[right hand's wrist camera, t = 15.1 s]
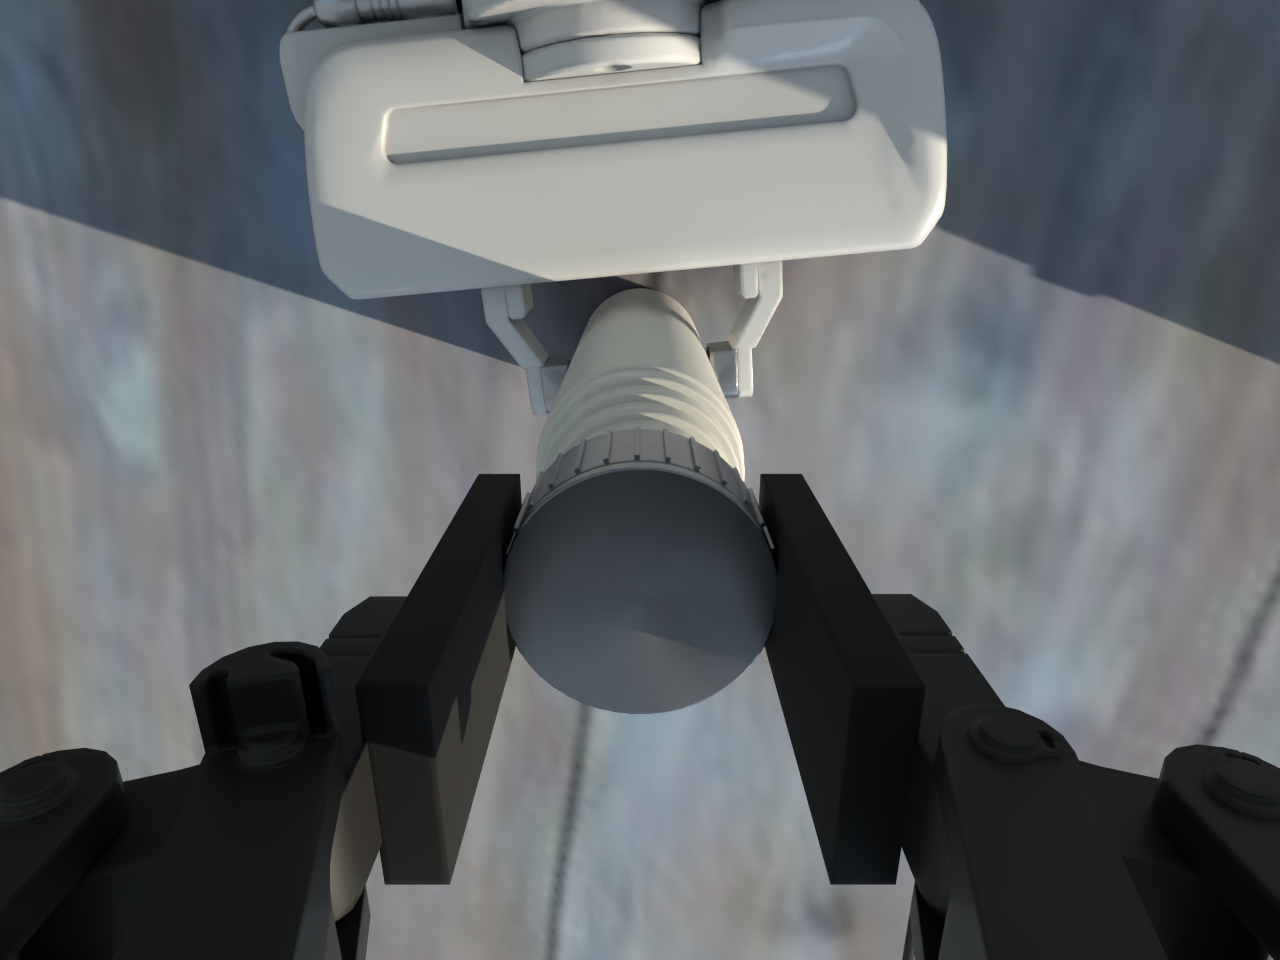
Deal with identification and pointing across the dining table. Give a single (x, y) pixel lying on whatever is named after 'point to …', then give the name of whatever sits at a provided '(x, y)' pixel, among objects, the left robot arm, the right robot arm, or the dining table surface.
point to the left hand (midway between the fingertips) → (643, 402)
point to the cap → (640, 573)
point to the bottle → (640, 381)
